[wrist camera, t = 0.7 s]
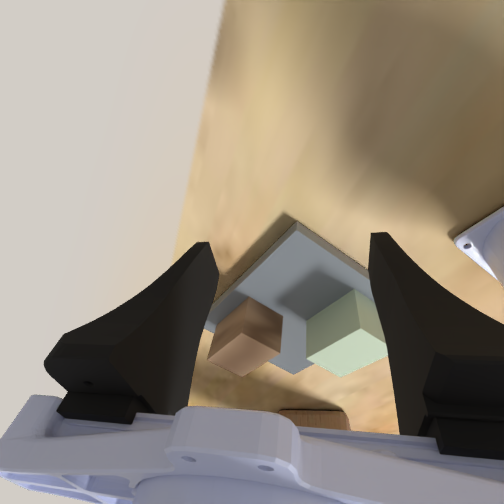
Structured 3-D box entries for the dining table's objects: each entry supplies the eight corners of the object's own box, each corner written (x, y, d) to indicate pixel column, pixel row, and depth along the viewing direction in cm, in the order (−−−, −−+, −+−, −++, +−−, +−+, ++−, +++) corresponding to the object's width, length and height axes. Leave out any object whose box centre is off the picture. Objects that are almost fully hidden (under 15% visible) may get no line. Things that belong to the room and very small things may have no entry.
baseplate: (410, 300, 27) (413, 310, 26) (294, 365, 36) (293, 374, 35) (296, 220, 23) (296, 229, 22) (200, 315, 33) (197, 324, 32)
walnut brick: (283, 316, 29) (280, 353, 26) (248, 341, 32) (242, 377, 29) (249, 296, 28) (241, 332, 25) (216, 325, 31) (206, 360, 28)
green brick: (387, 310, 26) (397, 351, 23) (337, 339, 30) (340, 377, 27) (354, 288, 25) (360, 328, 22) (306, 320, 29) (306, 358, 26)
